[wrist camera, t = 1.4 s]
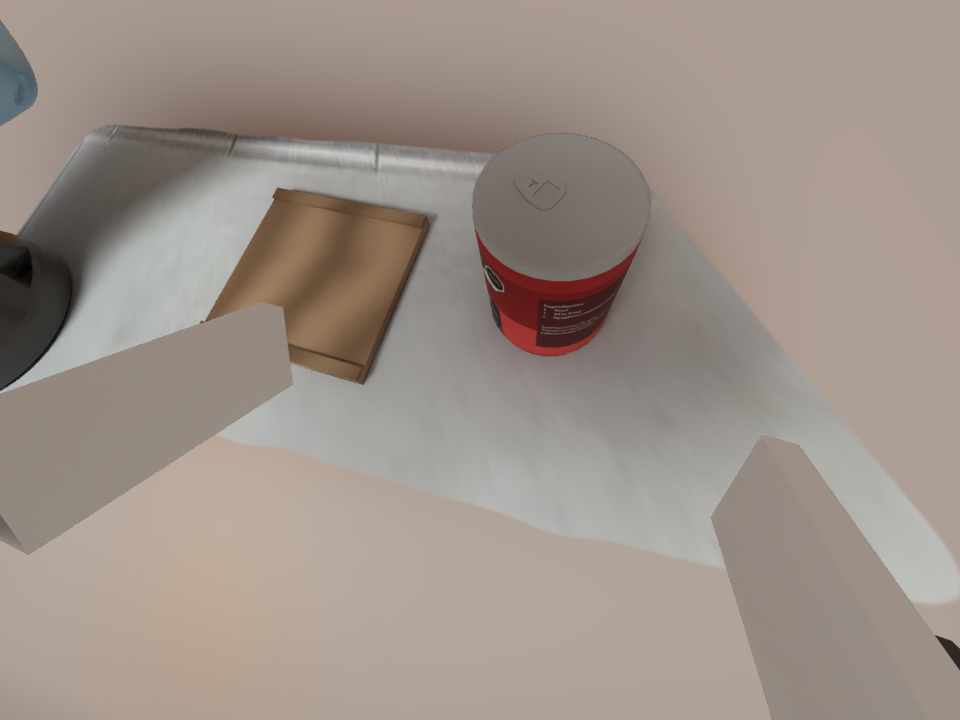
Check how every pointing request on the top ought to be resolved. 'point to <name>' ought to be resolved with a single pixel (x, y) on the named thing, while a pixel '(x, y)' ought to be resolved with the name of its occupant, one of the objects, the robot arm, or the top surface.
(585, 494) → the top surface
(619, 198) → the canned food
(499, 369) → the top surface
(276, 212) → the trivet
